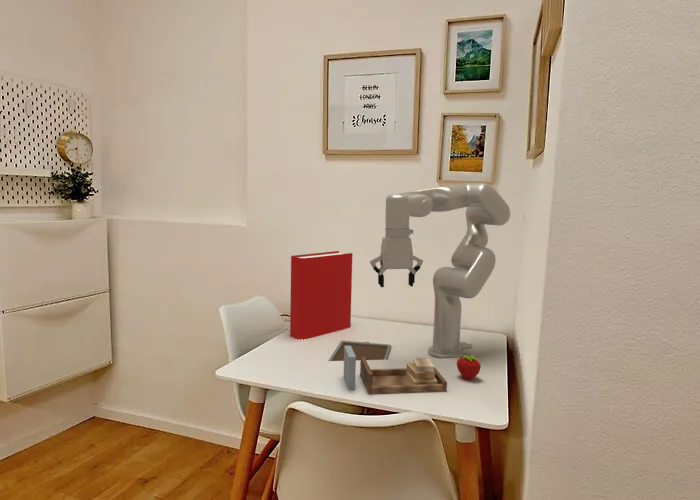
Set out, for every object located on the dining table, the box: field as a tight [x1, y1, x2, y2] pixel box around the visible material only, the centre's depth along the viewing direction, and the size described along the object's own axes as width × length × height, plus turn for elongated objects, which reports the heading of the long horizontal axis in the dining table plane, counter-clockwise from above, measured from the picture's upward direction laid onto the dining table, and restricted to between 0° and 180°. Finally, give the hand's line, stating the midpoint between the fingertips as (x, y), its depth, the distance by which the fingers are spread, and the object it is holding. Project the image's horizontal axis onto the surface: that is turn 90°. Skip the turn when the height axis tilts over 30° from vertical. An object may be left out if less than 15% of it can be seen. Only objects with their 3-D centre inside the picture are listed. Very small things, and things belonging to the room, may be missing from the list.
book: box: [289, 250, 353, 341], centre depth 196 cm, size 27×8×32 cm, turn 136°
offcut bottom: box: [406, 371, 438, 385], centre depth 145 cm, size 7×9×2 cm
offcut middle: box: [406, 362, 435, 381], centre depth 145 cm, size 6×8×2 cm
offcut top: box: [412, 357, 435, 373], centre depth 144 cm, size 5×7×2 cm
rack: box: [359, 357, 448, 395], centre depth 144 cm, size 23×14×7 cm, turn 98°
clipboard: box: [327, 340, 392, 362], centre depth 170 cm, size 19×2×30 cm
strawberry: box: [456, 349, 482, 381], centre depth 149 cm, size 6×8×10 cm
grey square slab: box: [343, 346, 357, 391], centre depth 143 cm, size 2×10×11 cm, turn 8°
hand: (396, 286), depth 156 cm, fingers open, 9 cm apart
